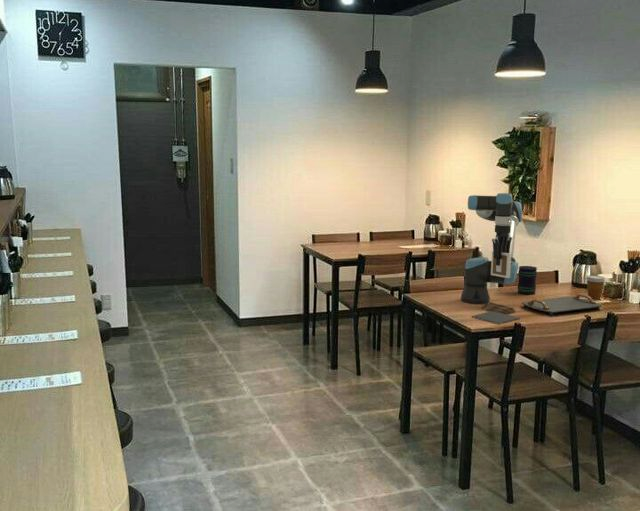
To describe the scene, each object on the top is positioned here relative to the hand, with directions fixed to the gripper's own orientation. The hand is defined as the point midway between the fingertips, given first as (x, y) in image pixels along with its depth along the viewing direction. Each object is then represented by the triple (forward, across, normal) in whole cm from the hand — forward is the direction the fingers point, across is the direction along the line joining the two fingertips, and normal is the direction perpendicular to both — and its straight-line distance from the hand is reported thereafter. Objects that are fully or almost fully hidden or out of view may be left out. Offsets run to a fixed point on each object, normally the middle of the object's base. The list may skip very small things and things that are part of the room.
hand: (500, 271), depth 314 cm
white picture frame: (+2, 0, 0) cm, 2 cm away
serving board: (+21, +30, -16) cm, 40 cm away
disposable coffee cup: (+21, +65, -15) cm, 70 cm away
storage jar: (+21, +46, +15) cm, 52 cm away
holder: (+20, 0, 0) cm, 20 cm away
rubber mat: (+20, -13, -8) cm, 25 cm away
